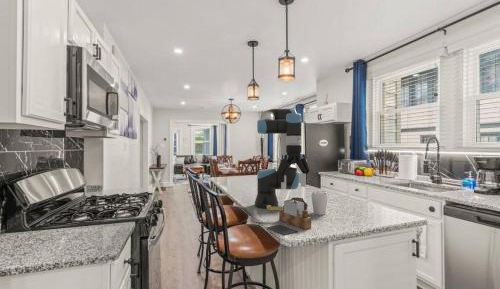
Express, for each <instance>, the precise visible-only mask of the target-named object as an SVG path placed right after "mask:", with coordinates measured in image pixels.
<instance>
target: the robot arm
mask: <svg viewBox="0 0 500 289" xmlns="http://www.w3.org/2000/svg"><path fill="white" fill-rule="evenodd" d="M302 121H303V120H302V114H301V113H298V112H297V111H296V109H295V108H270V109H267V110H265V111H263V112H262V113H261V114H260V117H259V119H258V120H257V122H256V123H257V125H256V128H257V130H256V131H257V134H262V135H265V134H267V135H270V134H274V135H276V134H280V163H279V166H278V168H277V170H276V168H267V169H261V170H258V171H257V176H256V179H257V183H256V184H257V188H256V189H257V191H256V192H257V193H256V197H255V200H254V207H256V208H260V209H261V208H262V209H267V205H270V206H279V201H278V196H277V194H276V191H277V190H291V191H292V190H296V189H299V188H298V187H299V183H300V187H304V188H306V187H307V175H308V174H309V172H310V171H311V170H310V168H309V165H308V162H307V159H306V154H303V153H302ZM301 153H302V154H301ZM295 164H296V165H297V166H298V167H297V166H296V165H295ZM298 168H299V170H300V171H301V173H300V171H299V170H298Z"/></svg>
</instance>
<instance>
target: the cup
mask: <svg viewBox="0 0 500 289" xmlns="http://www.w3.org/2000/svg"><path fill="white" fill-rule="evenodd" d="M328 195H329V194H328V192H327V191H324V190H323V191H322V190H313V191H311V203H312V204H311V205H312V211H313V214H315V215H320V216H322V215H324V216H325V215H326V214H327V207H328V198H329V196H328Z"/></svg>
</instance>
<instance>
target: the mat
mask: <svg viewBox="0 0 500 289" xmlns="http://www.w3.org/2000/svg"><path fill="white" fill-rule="evenodd" d="M266 228H267V230H271V231H273V232H274V233H275V232H276V233H278V234H280V235H283V236H288V235H291V234H295V233H298V230H296V229H293V228H290V227H288V226H286V225H284V224H280V223H279V224H276V225H271V226H268V227H266Z"/></svg>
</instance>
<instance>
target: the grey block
mask: <svg viewBox="0 0 500 289" xmlns="http://www.w3.org/2000/svg"><path fill="white" fill-rule="evenodd" d="M283 205H284V213H287V214H290V215H293V216H296V217H297V216H302V211H303V210H304V203H303V202H299V201H295V200H291V199H287V200H283Z"/></svg>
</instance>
